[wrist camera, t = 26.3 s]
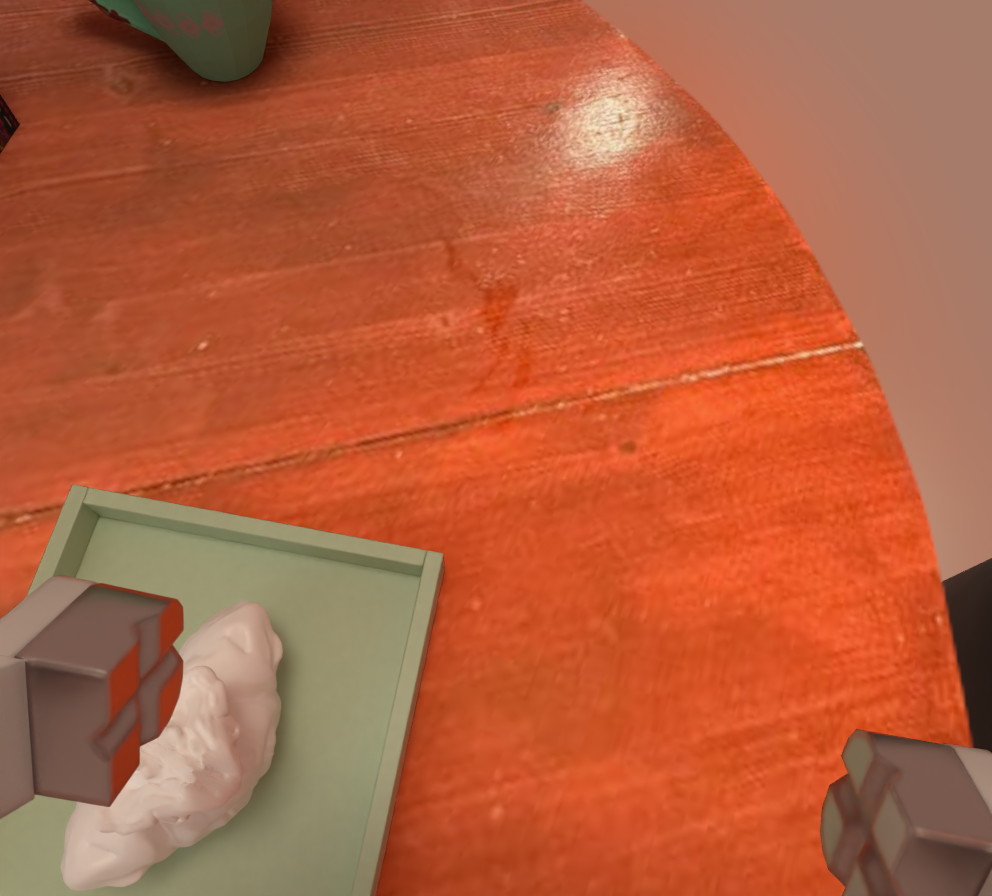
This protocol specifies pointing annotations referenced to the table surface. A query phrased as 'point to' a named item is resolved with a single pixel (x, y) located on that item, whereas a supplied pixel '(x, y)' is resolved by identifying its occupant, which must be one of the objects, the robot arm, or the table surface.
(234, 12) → the mug
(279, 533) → the serving tray
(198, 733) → the bust
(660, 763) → the table surface
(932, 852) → the robot arm
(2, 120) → the box
